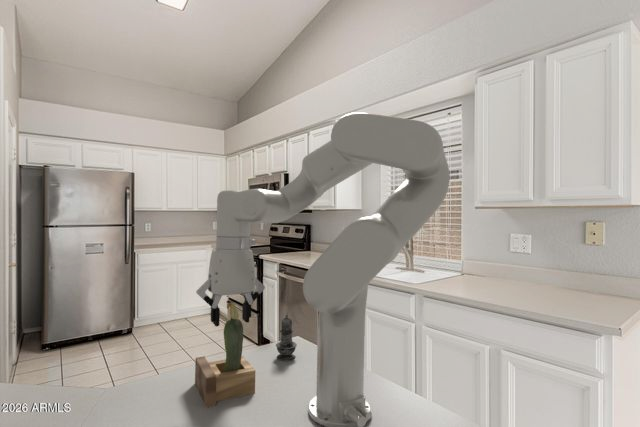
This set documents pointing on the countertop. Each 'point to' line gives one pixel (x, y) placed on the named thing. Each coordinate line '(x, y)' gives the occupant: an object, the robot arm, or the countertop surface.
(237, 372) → the socket block
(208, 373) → the wall
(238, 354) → the vegetable
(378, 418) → the countertop surface
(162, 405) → the countertop surface
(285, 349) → the ornate incense burner
